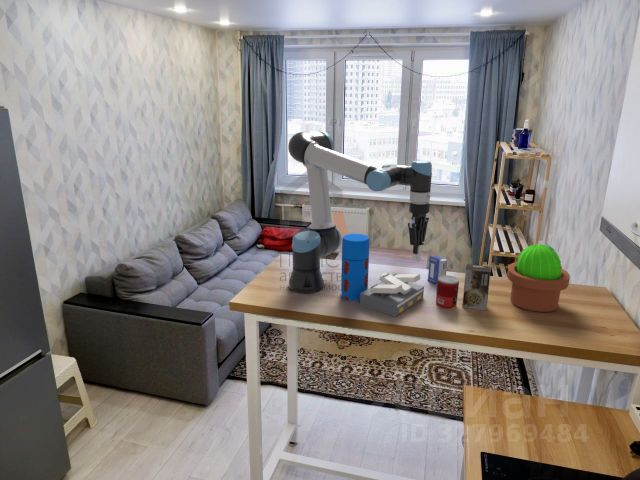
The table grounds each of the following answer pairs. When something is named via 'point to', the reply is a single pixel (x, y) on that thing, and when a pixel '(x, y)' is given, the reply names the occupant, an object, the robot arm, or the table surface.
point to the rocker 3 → (407, 277)
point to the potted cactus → (537, 279)
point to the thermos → (354, 265)
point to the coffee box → (476, 287)
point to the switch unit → (392, 299)
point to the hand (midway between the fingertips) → (416, 260)
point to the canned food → (447, 291)
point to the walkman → (436, 268)
